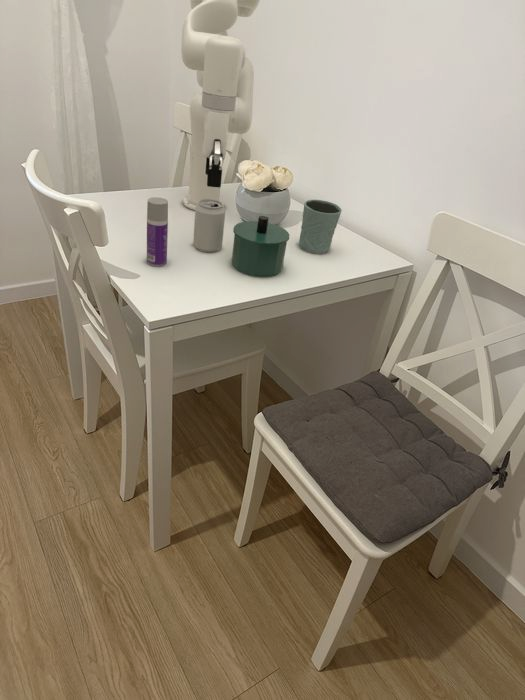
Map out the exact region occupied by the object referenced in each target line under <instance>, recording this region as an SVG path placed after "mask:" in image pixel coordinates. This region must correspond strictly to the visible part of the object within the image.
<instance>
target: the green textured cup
mask: <svg viewBox="0 0 525 700" xmlns="http://www.w3.org/2000/svg"><path fill="white" fill-rule="evenodd" d="M341 215H342V208H341V206H339V205H337V204H336V203H333V202H331V201H329V200H323V199H308V200H306V201H304V204H303V211H302V220H301V221H302V222H301V226H300V234H299V239H298V248H299V249H301V250H302V251H304V252H306V253H310V254H313V255H324V254H327V253H329V251H330V248H331V245H332V242H333V238H334V235H335V231H336V228H337V226H338V223H339V219H340V217H341Z"/></svg>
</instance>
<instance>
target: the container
mask: <svg viewBox="0 0 525 700" xmlns="http://www.w3.org/2000/svg"><path fill="white" fill-rule="evenodd" d="M146 208H147V209H146V264H147V265H149V266H151V267H156V268H158V267H159V268H160V267H164V266H167V263H168V262H167V261H168V232H169V200H168V199H166V198H163V197H158V196H157V197H150V198H149V197H148V199H147V207H146Z"/></svg>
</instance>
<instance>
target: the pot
mask: <svg viewBox="0 0 525 700" xmlns="http://www.w3.org/2000/svg"><path fill="white" fill-rule="evenodd" d="M233 234H234V233H233ZM287 244H288V241H287V242H285V243H283V244H279V245H260V244H255V243H251V242H248V241H245V240H243V239H241V238H239V237H237V236H236V235H235V234H234V235H233V246H232V255H231V266H232V267H233V269H234V270H236V271H237V272H239V273H241V274H243V275H245V276H248V277H249V276H250V277H255V278H272V277H275V276H278V275H279V274H280V273H282V271H283V266H284V262H285V255H286V250H287Z"/></svg>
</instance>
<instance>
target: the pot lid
mask: <svg viewBox="0 0 525 700" xmlns="http://www.w3.org/2000/svg"><path fill="white" fill-rule="evenodd" d="M269 219H270V218H269V217H268V216H266V215H259V216H258V218H257V220H247V221H241V222H238V223H236V224H234V226H233V228H232V229H233V234H235V235H236V236H237V237H239V238H241V239H243V240H245V241H248V242H251V243H255V244H260V245H279V244H283V243H285V242H287V243H288V241H289V239H290V233H289V232H288V231H287V229H285V228H283V226H282V227H281V226H280V225H277V224H275V223H271V222H269Z"/></svg>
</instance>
